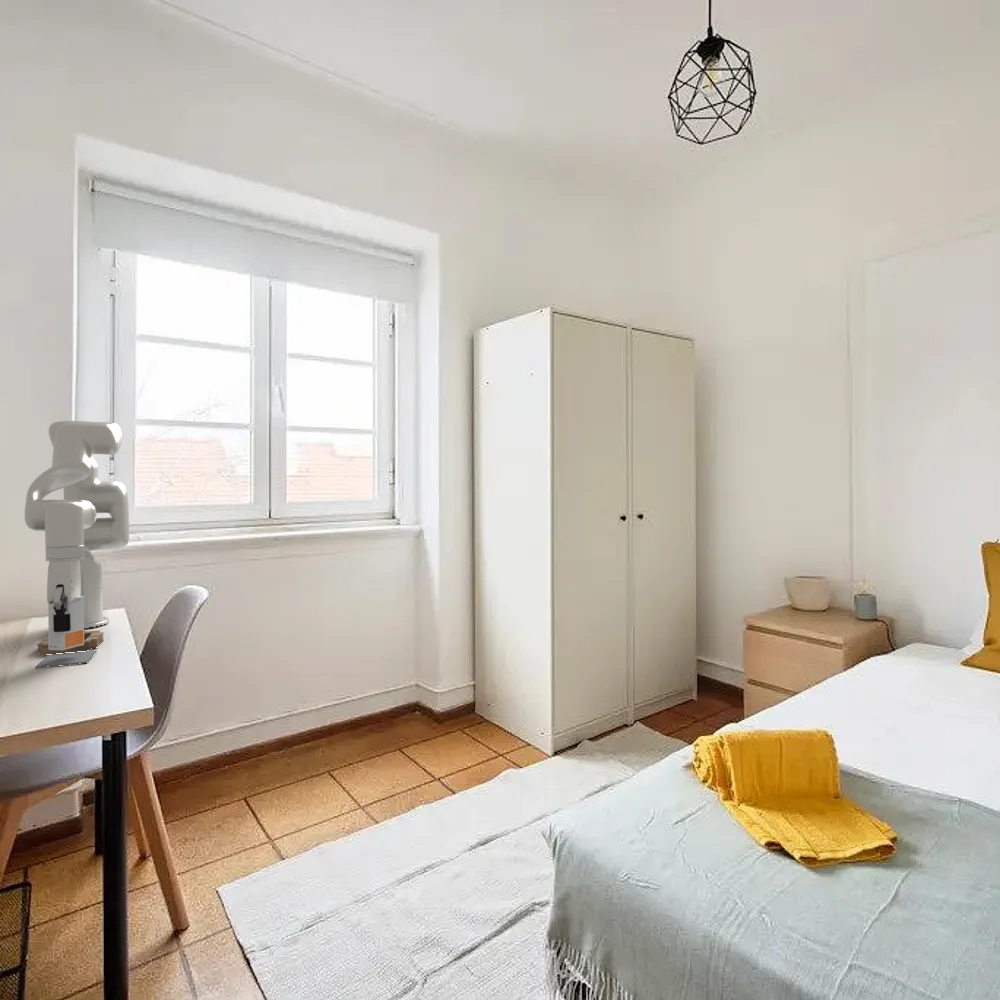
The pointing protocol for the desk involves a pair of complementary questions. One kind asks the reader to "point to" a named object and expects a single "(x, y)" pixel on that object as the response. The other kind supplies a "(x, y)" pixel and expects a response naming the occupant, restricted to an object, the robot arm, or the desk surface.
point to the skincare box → (77, 627)
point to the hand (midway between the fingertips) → (66, 627)
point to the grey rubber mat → (66, 659)
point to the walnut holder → (90, 641)
